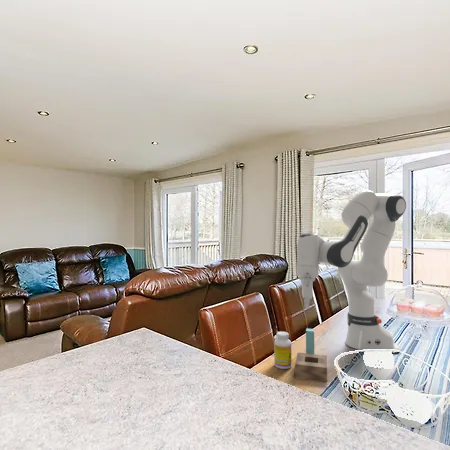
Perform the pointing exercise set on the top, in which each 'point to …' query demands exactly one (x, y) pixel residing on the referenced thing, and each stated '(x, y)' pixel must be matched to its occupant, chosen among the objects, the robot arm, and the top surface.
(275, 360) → the supplement bottle
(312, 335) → the teal peg
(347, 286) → the robot arm
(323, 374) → the socket block
